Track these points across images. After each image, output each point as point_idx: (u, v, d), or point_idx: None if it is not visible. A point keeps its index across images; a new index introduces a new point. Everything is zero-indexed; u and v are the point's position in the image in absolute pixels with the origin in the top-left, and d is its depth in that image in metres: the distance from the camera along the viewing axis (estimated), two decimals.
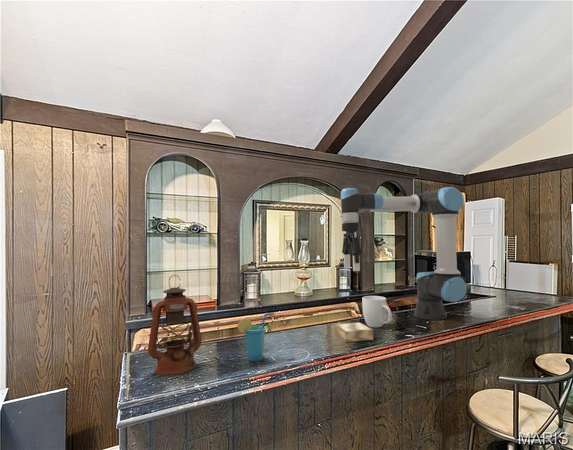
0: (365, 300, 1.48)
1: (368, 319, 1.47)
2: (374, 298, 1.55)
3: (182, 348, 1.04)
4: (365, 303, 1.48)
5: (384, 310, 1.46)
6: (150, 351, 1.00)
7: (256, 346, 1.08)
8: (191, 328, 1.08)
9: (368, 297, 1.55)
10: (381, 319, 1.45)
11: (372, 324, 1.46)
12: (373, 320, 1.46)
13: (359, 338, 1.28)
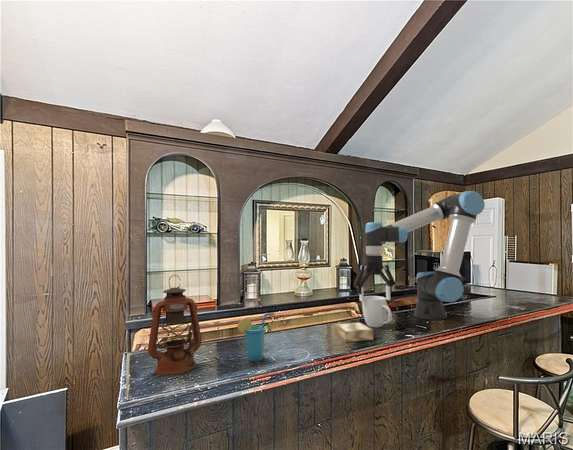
0: (365, 300, 1.48)
1: (368, 319, 1.47)
2: (374, 298, 1.55)
3: (182, 348, 1.04)
4: (365, 303, 1.48)
5: (384, 310, 1.46)
6: (150, 351, 1.00)
7: (256, 345, 1.08)
8: (191, 328, 1.08)
9: (368, 297, 1.55)
10: (381, 319, 1.45)
11: (372, 324, 1.46)
12: (373, 320, 1.46)
13: (359, 338, 1.28)
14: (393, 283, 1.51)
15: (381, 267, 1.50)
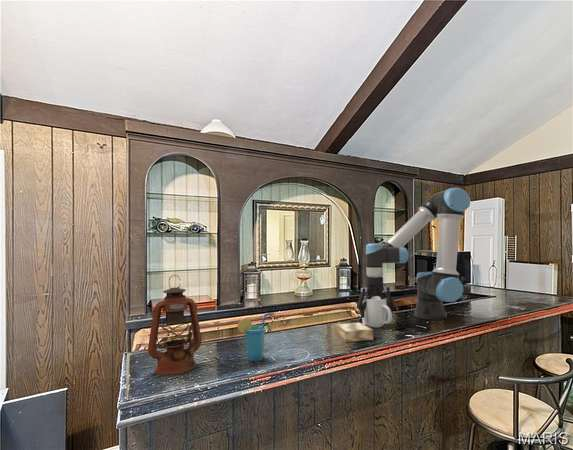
0: (365, 300, 1.48)
1: (368, 319, 1.47)
2: (374, 298, 1.55)
3: (182, 348, 1.04)
4: None
5: (384, 310, 1.46)
6: (150, 351, 1.00)
7: (256, 345, 1.08)
8: (191, 328, 1.08)
9: None
10: (381, 319, 1.45)
11: (372, 324, 1.46)
12: (373, 320, 1.46)
13: (359, 338, 1.28)
14: (392, 306, 1.50)
15: (382, 288, 1.49)
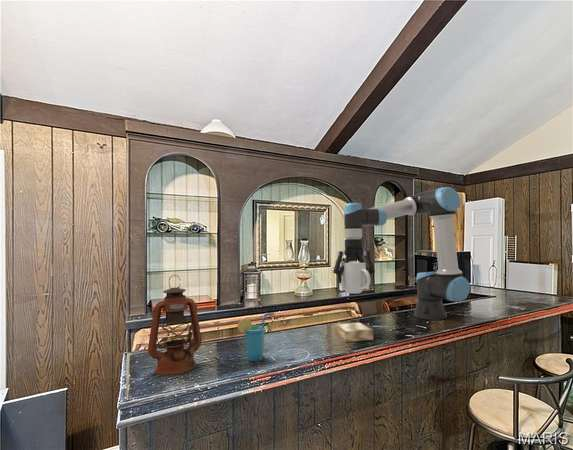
0: (342, 264, 1.36)
1: (345, 284, 1.35)
2: None
3: (182, 348, 1.04)
4: None
5: (363, 274, 1.34)
6: (150, 351, 1.00)
7: (255, 345, 1.08)
8: (191, 328, 1.08)
9: None
10: (359, 284, 1.34)
11: (350, 290, 1.34)
12: (351, 285, 1.34)
13: (359, 338, 1.28)
14: (372, 271, 1.38)
15: (361, 252, 1.37)
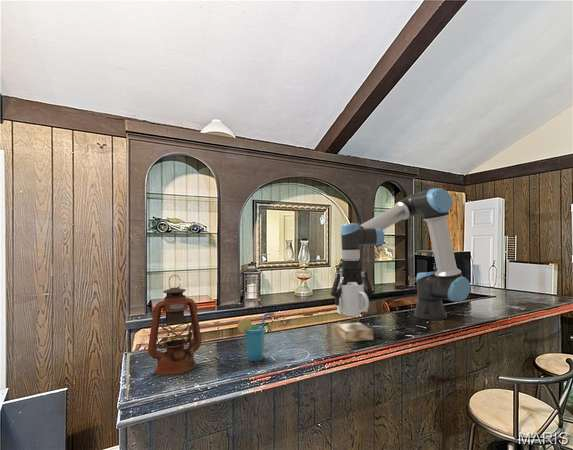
0: (340, 286, 1.33)
1: (343, 307, 1.32)
2: (351, 284, 1.40)
3: (182, 348, 1.04)
4: None
5: (361, 297, 1.31)
6: (150, 351, 1.00)
7: (256, 346, 1.08)
8: (191, 328, 1.08)
9: None
10: (358, 307, 1.31)
11: (348, 313, 1.32)
12: (349, 308, 1.31)
13: (359, 338, 1.28)
14: (370, 293, 1.35)
15: (359, 273, 1.35)
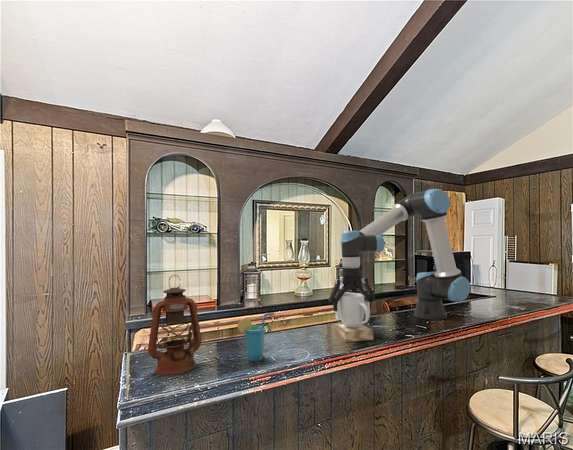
0: (341, 297, 1.33)
1: (344, 318, 1.32)
2: (352, 295, 1.40)
3: (182, 348, 1.04)
4: (341, 301, 1.33)
5: (361, 308, 1.31)
6: (150, 351, 1.00)
7: (255, 345, 1.08)
8: (191, 328, 1.08)
9: (345, 294, 1.40)
10: (358, 318, 1.30)
11: (348, 324, 1.31)
12: (349, 320, 1.31)
13: (359, 338, 1.28)
14: (373, 298, 1.35)
15: (359, 280, 1.34)
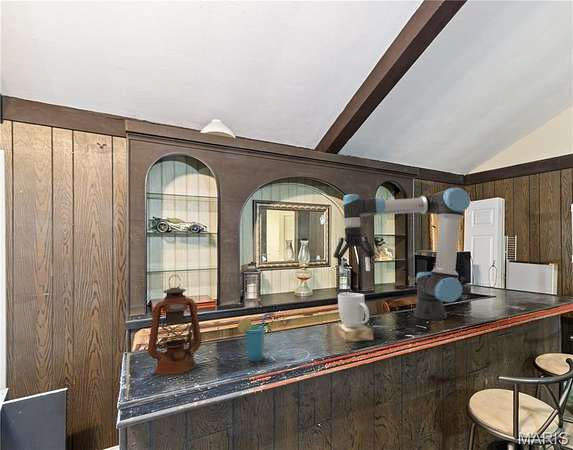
0: (340, 297, 1.33)
1: (344, 318, 1.32)
2: (352, 295, 1.40)
3: (182, 348, 1.04)
4: (340, 301, 1.33)
5: (361, 308, 1.31)
6: (150, 351, 1.00)
7: (256, 345, 1.08)
8: (191, 328, 1.08)
9: (345, 294, 1.40)
10: (358, 318, 1.30)
11: (348, 324, 1.31)
12: (349, 320, 1.31)
13: (359, 338, 1.28)
14: (372, 254, 1.52)
15: (360, 239, 1.51)
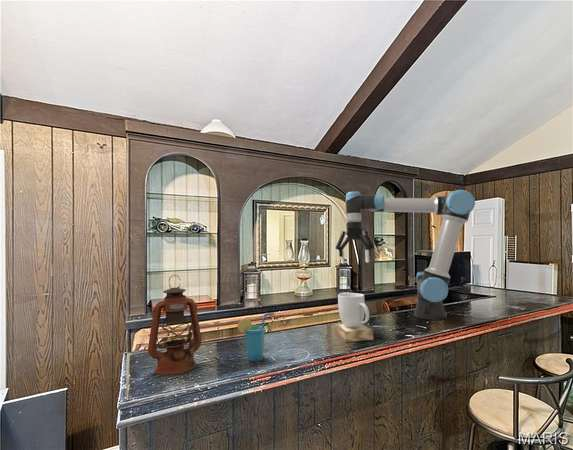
0: (340, 297, 1.33)
1: (344, 318, 1.32)
2: (352, 295, 1.40)
3: (182, 348, 1.04)
4: (340, 301, 1.33)
5: (361, 308, 1.31)
6: (150, 351, 1.00)
7: (255, 345, 1.08)
8: (191, 328, 1.08)
9: (345, 294, 1.40)
10: (358, 318, 1.30)
11: (348, 324, 1.31)
12: (349, 320, 1.31)
13: (359, 338, 1.28)
14: (371, 247, 1.66)
15: (360, 232, 1.65)
